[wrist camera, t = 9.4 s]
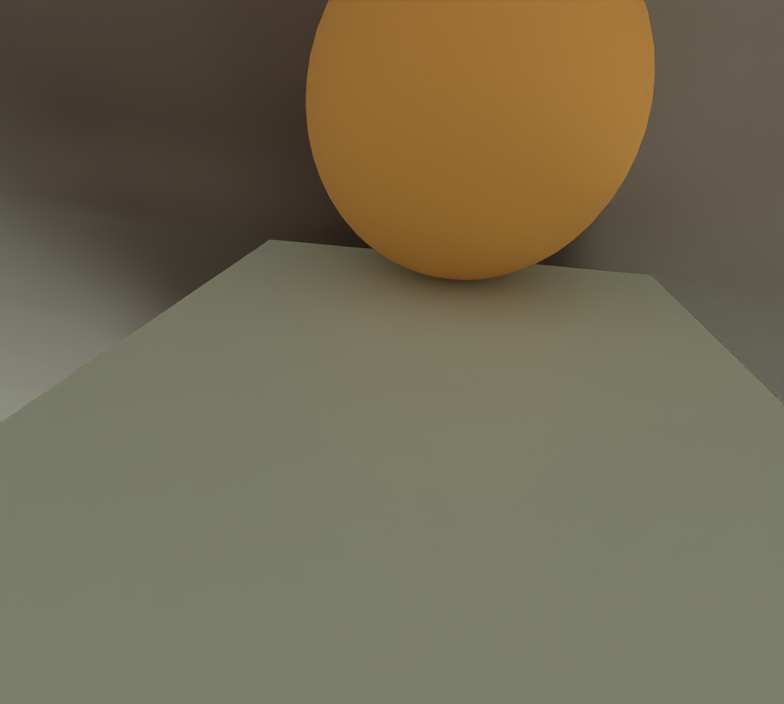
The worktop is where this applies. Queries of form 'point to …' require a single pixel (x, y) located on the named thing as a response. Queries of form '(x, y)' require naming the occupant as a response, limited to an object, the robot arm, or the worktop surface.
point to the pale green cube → (397, 498)
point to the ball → (477, 124)
